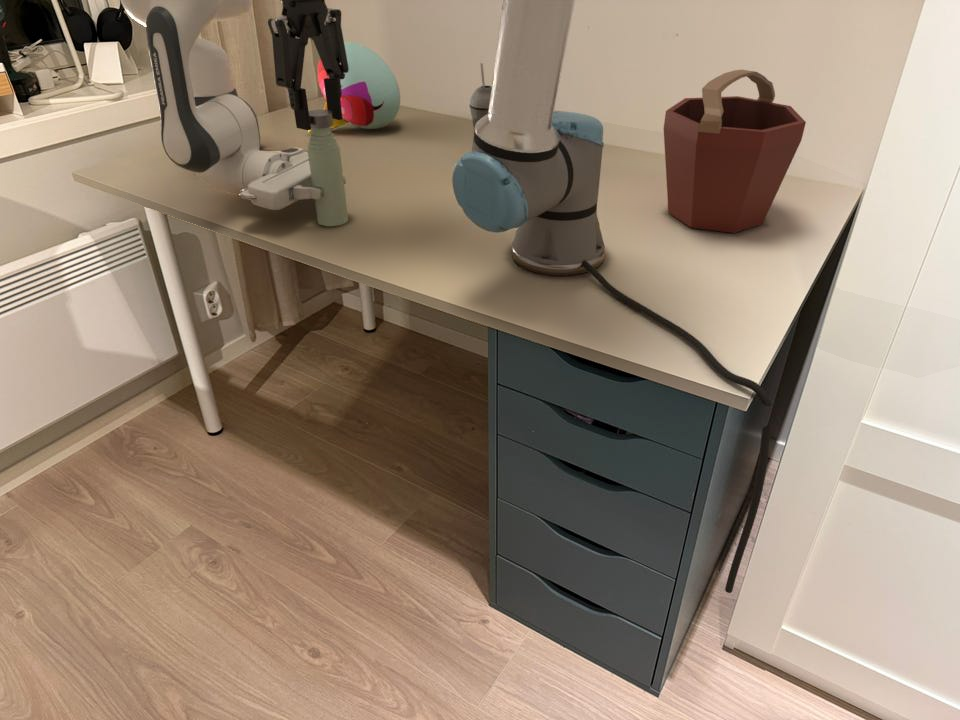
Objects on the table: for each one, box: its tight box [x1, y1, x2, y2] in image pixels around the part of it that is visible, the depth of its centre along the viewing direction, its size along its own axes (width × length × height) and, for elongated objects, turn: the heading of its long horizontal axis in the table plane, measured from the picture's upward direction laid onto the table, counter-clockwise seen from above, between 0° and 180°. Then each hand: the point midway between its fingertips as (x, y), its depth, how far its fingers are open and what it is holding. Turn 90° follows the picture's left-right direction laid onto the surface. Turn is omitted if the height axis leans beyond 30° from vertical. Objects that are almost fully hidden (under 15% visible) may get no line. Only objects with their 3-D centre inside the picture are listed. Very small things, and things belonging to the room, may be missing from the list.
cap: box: [308, 108, 333, 129], centre depth 121 cm, size 4×4×2 cm
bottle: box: [306, 127, 349, 227], centre depth 126 cm, size 6×6×19 cm
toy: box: [307, 41, 401, 134], centre depth 176 cm, size 24×24×20 cm
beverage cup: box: [468, 62, 492, 132], centre depth 154 cm, size 7×7×20 cm
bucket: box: [663, 69, 807, 234], centre depth 125 cm, size 24×22×25 cm
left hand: (332, 187), depth 127 cm, fingers closed on bottle, 5 cm apart
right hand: (320, 123), depth 121 cm, fingers open, 7 cm apart
